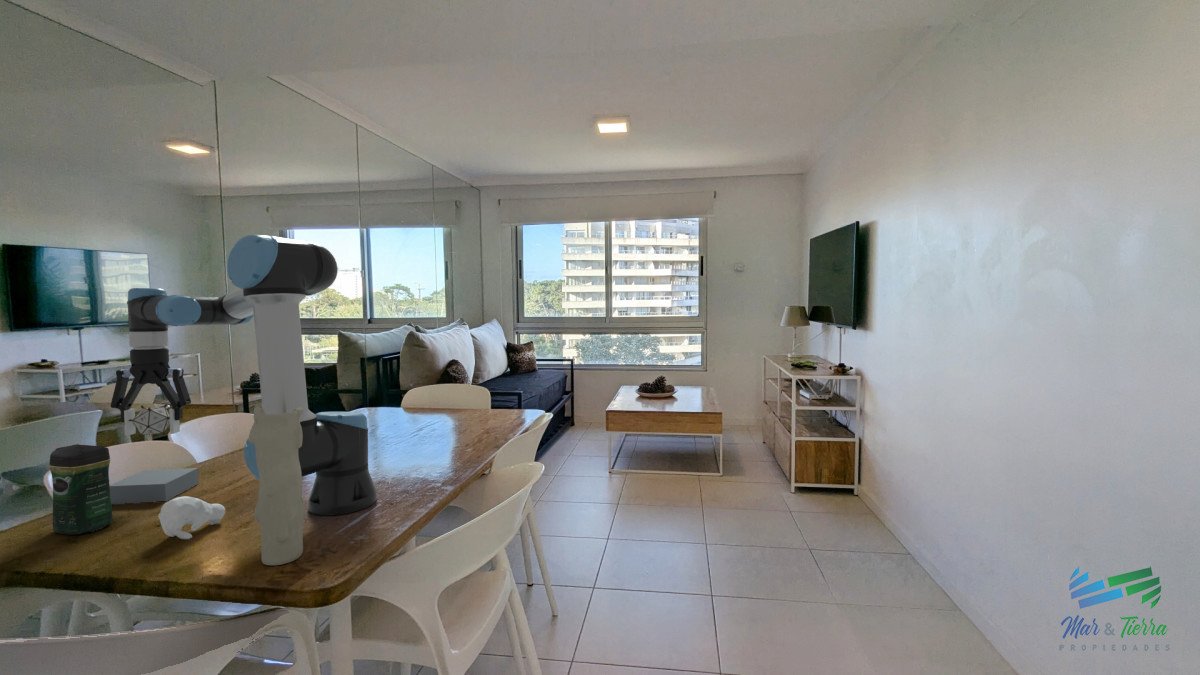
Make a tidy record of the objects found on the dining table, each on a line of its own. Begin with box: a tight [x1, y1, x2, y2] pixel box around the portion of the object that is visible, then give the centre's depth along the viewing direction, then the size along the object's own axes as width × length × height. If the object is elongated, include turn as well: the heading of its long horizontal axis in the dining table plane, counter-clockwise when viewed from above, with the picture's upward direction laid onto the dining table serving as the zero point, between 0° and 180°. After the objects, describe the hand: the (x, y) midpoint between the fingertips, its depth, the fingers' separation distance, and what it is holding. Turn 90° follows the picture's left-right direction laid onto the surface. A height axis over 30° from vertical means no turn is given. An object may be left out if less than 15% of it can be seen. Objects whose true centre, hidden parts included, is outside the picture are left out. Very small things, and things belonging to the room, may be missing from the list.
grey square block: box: [109, 467, 200, 505], centre depth 131 cm, size 13×13×5 cm
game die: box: [128, 403, 170, 439], centre depth 131 cm, size 9×8×10 cm
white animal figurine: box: [157, 496, 226, 540], centre depth 109 cm, size 6×8×12 cm
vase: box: [248, 406, 306, 566], centre depth 97 cm, size 9×8×30 cm
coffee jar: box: [48, 443, 114, 535], centre depth 110 cm, size 10×8×19 cm
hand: (152, 433), depth 131 cm, fingers closed on game die, 9 cm apart
